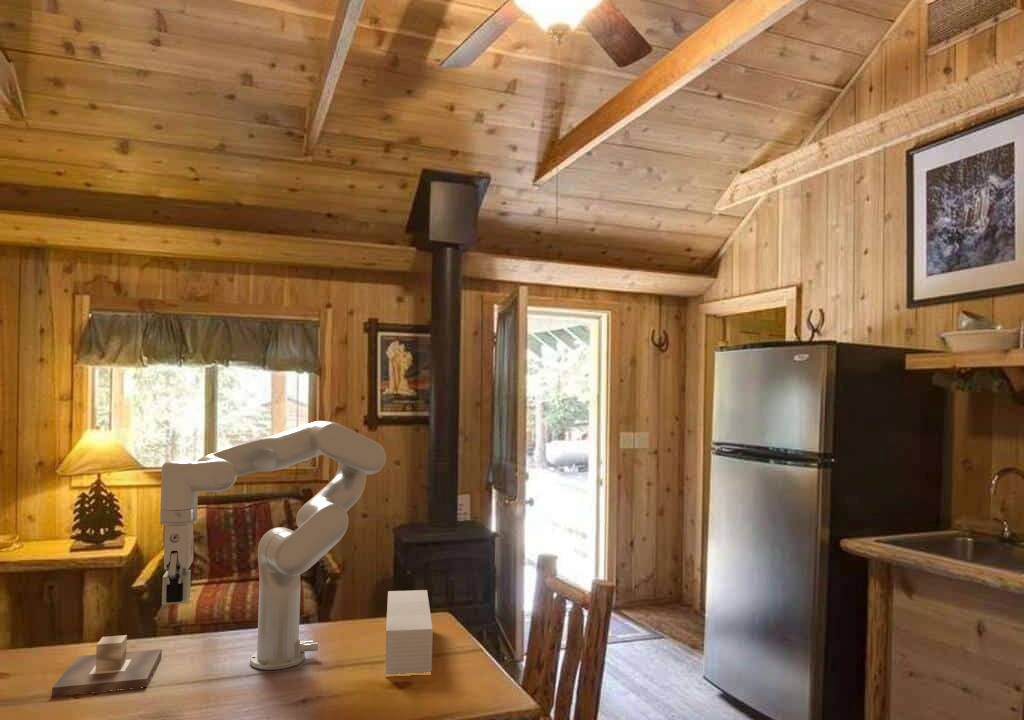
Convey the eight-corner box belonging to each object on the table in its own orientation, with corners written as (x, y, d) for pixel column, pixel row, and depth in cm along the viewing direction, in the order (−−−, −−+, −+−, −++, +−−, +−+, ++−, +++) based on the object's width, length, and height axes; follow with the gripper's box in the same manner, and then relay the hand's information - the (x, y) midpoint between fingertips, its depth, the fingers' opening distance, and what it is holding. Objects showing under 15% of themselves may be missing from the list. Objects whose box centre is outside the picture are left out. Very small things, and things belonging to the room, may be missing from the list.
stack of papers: (431, 676, 162) (432, 628, 163) (384, 678, 161) (386, 630, 161) (426, 629, 194) (427, 589, 194) (387, 630, 192) (388, 591, 193)
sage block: (190, 596, 159) (190, 569, 159) (186, 602, 154) (187, 575, 155) (165, 598, 158) (166, 571, 158) (161, 604, 153) (162, 577, 153)
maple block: (125, 661, 162) (126, 635, 162) (120, 669, 157) (121, 642, 157) (101, 663, 160) (102, 636, 161) (95, 671, 156) (96, 644, 156)
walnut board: (161, 657, 170) (161, 648, 170) (146, 687, 153) (146, 678, 153) (76, 664, 165) (77, 655, 165) (51, 697, 147) (52, 687, 147)
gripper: (191, 522, 150) (189, 608, 149) (201, 508, 166) (199, 586, 165) (152, 523, 148) (150, 611, 147) (167, 510, 164) (164, 588, 163)
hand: (176, 597), depth 156 cm, fingers closed on sage block, 4 cm apart
